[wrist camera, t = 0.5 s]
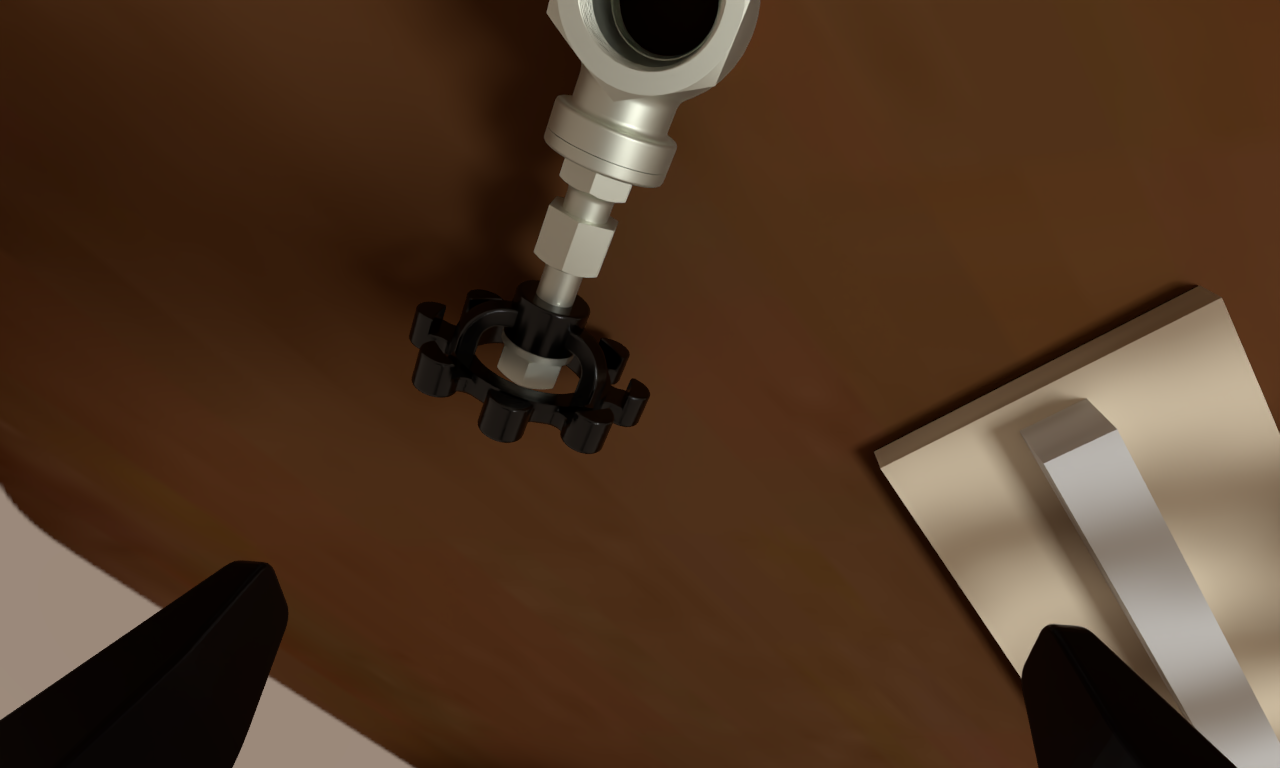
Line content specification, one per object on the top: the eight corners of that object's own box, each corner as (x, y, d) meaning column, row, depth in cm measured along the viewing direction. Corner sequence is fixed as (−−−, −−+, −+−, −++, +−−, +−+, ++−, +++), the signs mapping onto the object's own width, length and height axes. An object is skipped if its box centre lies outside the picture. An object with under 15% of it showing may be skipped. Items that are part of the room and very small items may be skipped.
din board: (1428, 812, 29) (1496, 887, 26) (1162, 883, 32) (1201, 956, 30) (1199, 285, 21) (1267, 322, 18) (874, 451, 24) (893, 502, 21)
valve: (574, -147, 18) (448, 294, 23) (505, -232, 12) (357, 390, 17) (825, -33, 18) (646, 372, 23) (880, -57, 12) (625, 491, 18)
